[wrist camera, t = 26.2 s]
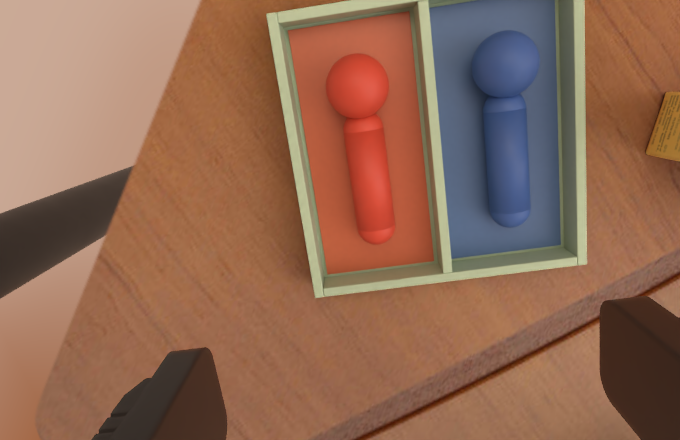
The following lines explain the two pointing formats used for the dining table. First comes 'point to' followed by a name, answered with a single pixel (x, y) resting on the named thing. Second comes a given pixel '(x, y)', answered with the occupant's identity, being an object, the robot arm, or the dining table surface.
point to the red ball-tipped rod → (364, 141)
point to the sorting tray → (433, 139)
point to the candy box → (667, 129)
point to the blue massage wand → (506, 121)
